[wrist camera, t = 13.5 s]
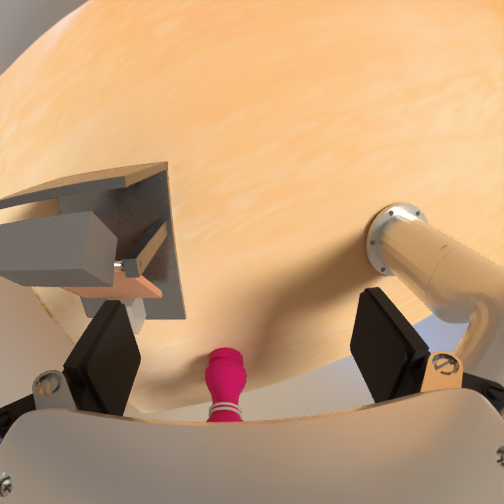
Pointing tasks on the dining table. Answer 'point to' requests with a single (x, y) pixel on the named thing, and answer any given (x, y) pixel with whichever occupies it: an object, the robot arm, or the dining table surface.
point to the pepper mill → (225, 384)
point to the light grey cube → (134, 312)
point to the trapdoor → (68, 257)
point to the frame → (125, 226)
